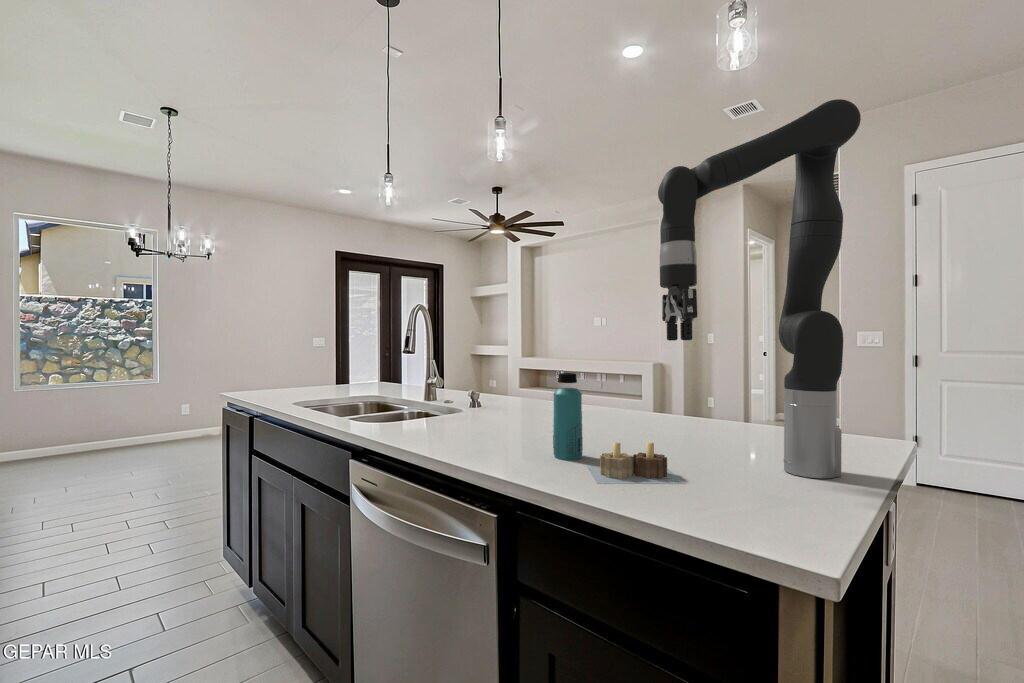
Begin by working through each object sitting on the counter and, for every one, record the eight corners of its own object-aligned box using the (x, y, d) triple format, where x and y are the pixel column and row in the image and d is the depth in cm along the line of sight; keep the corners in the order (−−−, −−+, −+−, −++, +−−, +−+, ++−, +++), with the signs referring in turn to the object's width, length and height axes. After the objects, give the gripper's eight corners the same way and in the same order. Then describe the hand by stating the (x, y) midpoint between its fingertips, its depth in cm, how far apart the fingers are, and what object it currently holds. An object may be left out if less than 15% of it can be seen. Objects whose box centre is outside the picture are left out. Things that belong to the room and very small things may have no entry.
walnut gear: (660, 470, 96) (661, 452, 96) (670, 479, 90) (670, 460, 90) (630, 470, 96) (630, 452, 96) (638, 478, 90) (638, 459, 90)
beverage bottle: (581, 468, 103) (582, 374, 103) (550, 466, 105) (551, 373, 104) (583, 460, 110) (583, 372, 110) (554, 459, 111) (554, 371, 111)
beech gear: (620, 468, 97) (620, 451, 97) (639, 476, 91) (639, 458, 91) (594, 471, 95) (594, 453, 95) (612, 480, 89) (612, 461, 89)
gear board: (665, 473, 99) (665, 437, 99) (686, 492, 87) (686, 450, 87) (586, 473, 99) (586, 436, 99) (596, 491, 87) (597, 450, 87)
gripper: (709, 258, 97) (710, 340, 97) (683, 269, 111) (684, 340, 111) (671, 259, 97) (673, 340, 97) (650, 269, 111) (651, 340, 111)
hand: (679, 340), depth 104 cm, fingers open, 8 cm apart
